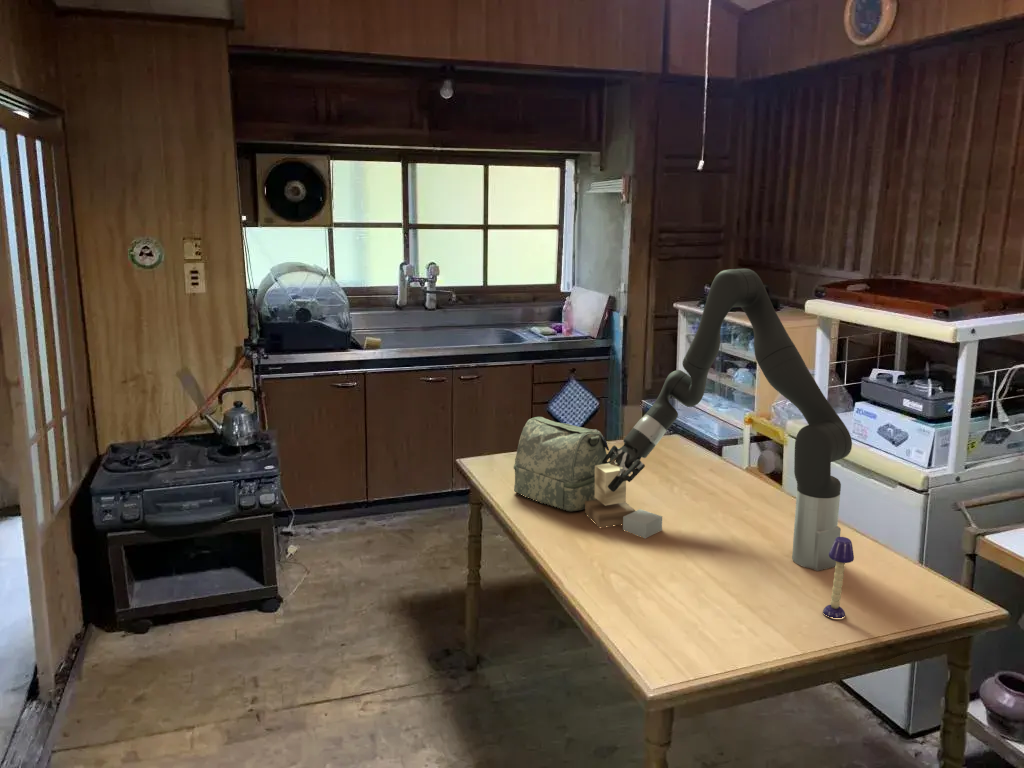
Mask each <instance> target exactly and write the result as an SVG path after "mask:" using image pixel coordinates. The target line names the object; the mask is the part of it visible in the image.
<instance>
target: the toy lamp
mask: <svg viewBox="0 0 1024 768" xmlns="http://www.w3.org/2000/svg"><path fill="white" fill-rule="evenodd" d="M853 549H854V548H853V543H852V540H851V539H850V538H848V537H845V536H840V537H837V538H836V539H835V540H834V543H833V545H832V547H831V549H830V552H829V557H830V558H831V559H832V560H834V561H836V566H835V567H834V573H833V577H834V578H833V581H832V583H833V586H832V589H831V590H832V593H831V596H830V597H831V600H830V602H829V603H830V604H828V605H826V606H825V607H824V608H823V610H822V614H823V613H824V614H825V615H827V616H829V617H833V618H842V617H844V616H845V617H846V612H845V610H844V609H843V608H842V607H841V606H840V605H841V602H840V600H841V593H842V592H843V590H842V589H843V588H842V586H843V584H844V582H843V579H844V572H845V565H846V564H849V563H852V562H853V561H854V560H855V556H854V550H853ZM824 614H823V615H824ZM825 615H824V616H825Z"/></svg>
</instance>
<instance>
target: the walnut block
mask: <svg viewBox="0 0 1024 768" xmlns="http://www.w3.org/2000/svg"><path fill="white" fill-rule="evenodd" d="M635 511H636V509H635V508H634V507H632V506H631V505H630V504H629V503H628V502H627V501H626V502H623V503H617V504H612V505H606V506H605V505H604V504H602V503H601V502H600V501H598V500H591V501H585V509H584V514H585V513H586V514H587V515H588V516H589V517H590V518H591V519H592V520H593V521H594V522H595V523H596V524H597V525H598V526H599V527H606V526H613V525H620V526H622V525H621V524H623V517H624V516H626V515H628V514H630V513H633V512H635ZM586 514H585V515H586ZM587 515H586V516H587ZM588 516H587V517H588ZM589 517H588V518H589ZM590 518H589V519H590ZM591 519H590V520H591ZM592 520H591V521H592ZM593 521H592V522H593ZM594 522H593V523H594ZM595 523H594V524H595ZM596 524H595V525H596ZM597 525H596V526H597ZM598 526H597V527H598ZM599 527H598V528H599ZM613 527H614V526H613ZM606 528H607V527H606Z"/></svg>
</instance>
